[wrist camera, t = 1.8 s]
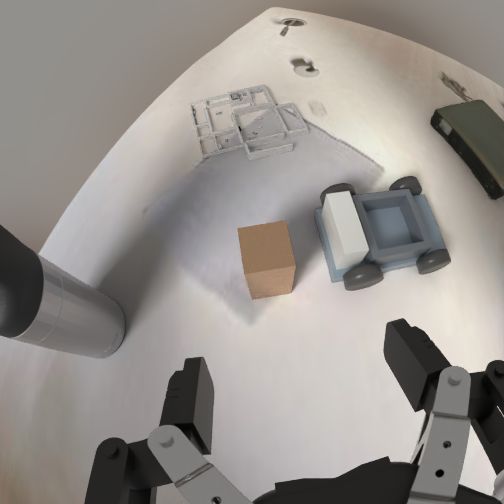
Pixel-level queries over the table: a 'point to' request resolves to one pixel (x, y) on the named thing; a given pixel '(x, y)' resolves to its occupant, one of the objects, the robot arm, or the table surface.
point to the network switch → (475, 141)
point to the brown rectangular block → (267, 259)
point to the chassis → (378, 233)
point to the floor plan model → (253, 108)
